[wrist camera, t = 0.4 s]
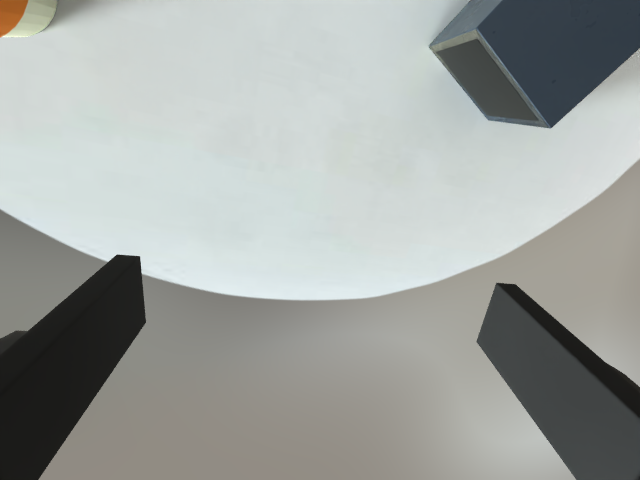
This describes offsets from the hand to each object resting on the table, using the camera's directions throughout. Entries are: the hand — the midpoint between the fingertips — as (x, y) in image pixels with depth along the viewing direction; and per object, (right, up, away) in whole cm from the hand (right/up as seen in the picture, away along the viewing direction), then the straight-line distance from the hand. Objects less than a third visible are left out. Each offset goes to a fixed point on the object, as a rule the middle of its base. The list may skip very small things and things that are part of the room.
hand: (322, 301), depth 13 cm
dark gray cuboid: (+18, +22, +21) cm, 35 cm away
